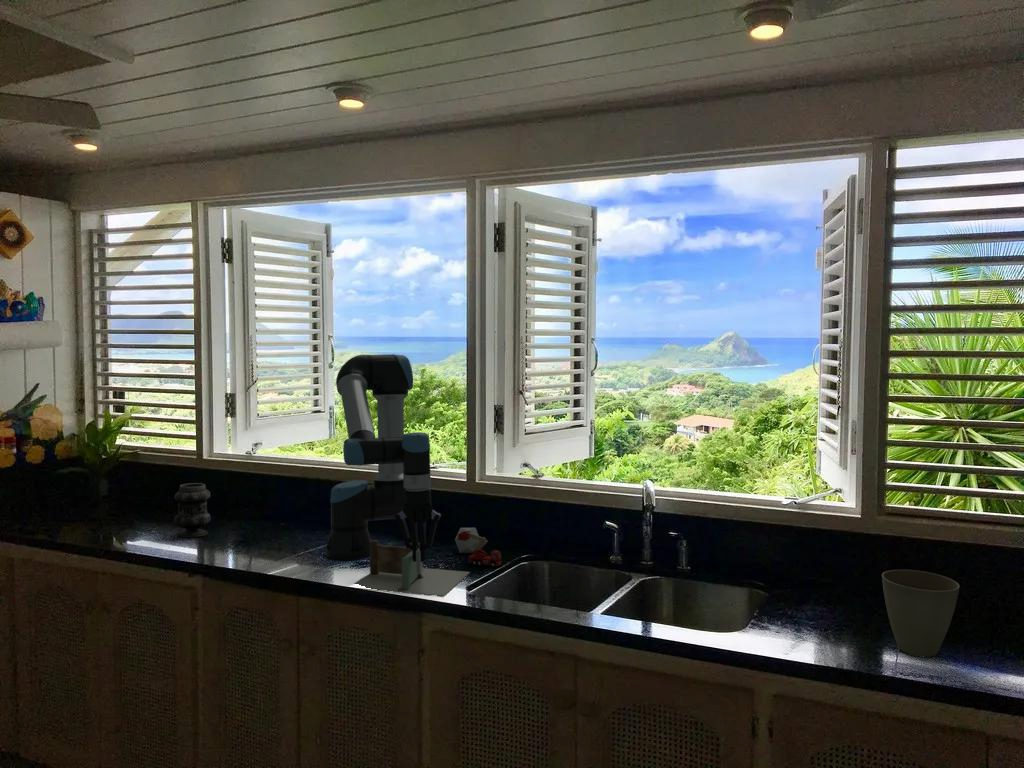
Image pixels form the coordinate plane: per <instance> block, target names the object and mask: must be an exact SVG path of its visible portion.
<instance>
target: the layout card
mask: <svg viewBox="0 0 1024 768" xmlns="http://www.w3.org/2000/svg"><path fill="white" fill-rule="evenodd" d="M469 574H471V572H470V571H463V570H462V571H461V570H453V569H452V570H450V569H439V568H438V569H437V568H428V567H427V568H426V567H423V572H422V577H421V578H416V579H415V580H414V581H413V582H412V583H411V584H410V588H409V589H402V574H393V573H382V572H378V574H376V575H371V574H370V573H368V574H366V575H364V576H363V577H362V578H360V579H359V580H358V581H355V582H354V583H353V584H359V585H361V586H365V587H366V588H371V589H377V590H376V591H378V590H387V591H386V592H389V591H393V592H392V593H400V592H402V594H403V593H404V594H410V593H411V594H412V595H413V594H414V595H421V594H424V596H431V595H437V596H436V597H442V596H444V597H445V596H447V593H448V594H449V593H450V592H451V591H453V589H454V588H455V587H457V585H459V584H460V583H461V582H462V581H463V580H464V579H465V578H466V577H468V575H469ZM411 594H410V595H411Z"/></svg>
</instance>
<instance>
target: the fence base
mask: <svg viewBox="0 0 1024 768" xmlns="http://www.w3.org/2000/svg"><path fill="white" fill-rule="evenodd" d="M418 546H419V547H418V549H420V542H418ZM411 551H412V549H410V548H406V546H405V545H404V546H403V545H402V546H401V545H389V544H379V540H378V539H371V541H370V556H369V572H370V574H371V575H376V574H378V572H382V573H393V574H402V558H403V557H405V556H406V555H408V554H409V553H410V552H411ZM421 577H422V573H421V574H418V577H417V578H421Z"/></svg>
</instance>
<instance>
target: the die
mask: <svg viewBox="0 0 1024 768" xmlns="http://www.w3.org/2000/svg"><path fill="white" fill-rule="evenodd" d="M465 531H470V532H471V533H472V534H474V535H477V536H480V535H479V533H478V531H477V527H460V528H459V530H458V532H457V534H456V537H455V538H454V541H455V544H456V546H457V549H458V552H459V554H474V549H475V548H476V546H477V545H478V543H479V540H477V539H474V538H471V537H470V539H468V540H466V541H463V540H458V534H460V533H461V532H465Z"/></svg>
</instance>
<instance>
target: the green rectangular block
mask: <svg viewBox="0 0 1024 768" xmlns="http://www.w3.org/2000/svg"><path fill="white" fill-rule="evenodd" d="M417 577H418V574H417V569H416V562H413V551H411V552H410V553H409V554H408V555H406V556H405V557H403V558H402V589H409V588H410V584H411V583H412V582H413V581H414V580H415V579H416V578H417Z"/></svg>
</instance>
